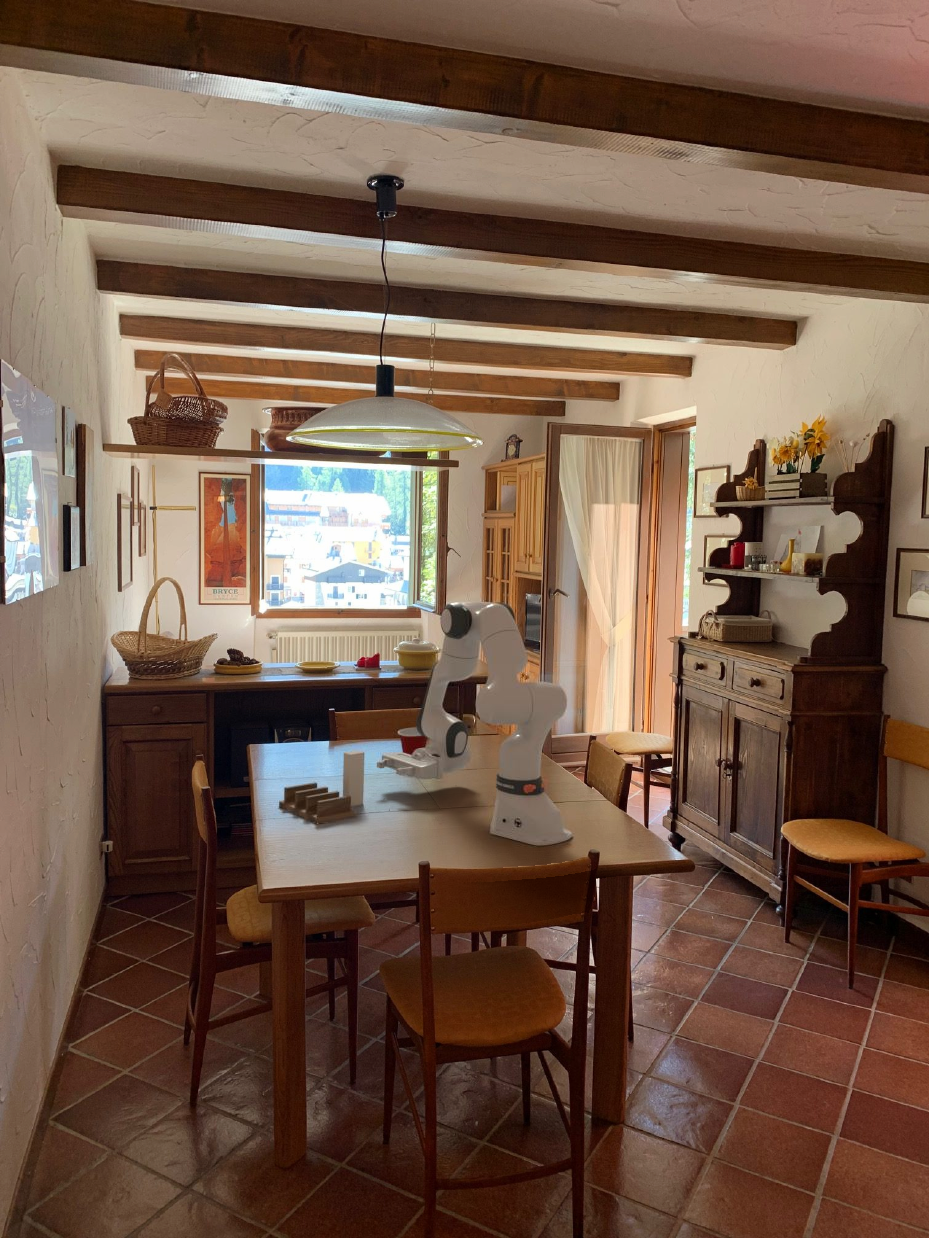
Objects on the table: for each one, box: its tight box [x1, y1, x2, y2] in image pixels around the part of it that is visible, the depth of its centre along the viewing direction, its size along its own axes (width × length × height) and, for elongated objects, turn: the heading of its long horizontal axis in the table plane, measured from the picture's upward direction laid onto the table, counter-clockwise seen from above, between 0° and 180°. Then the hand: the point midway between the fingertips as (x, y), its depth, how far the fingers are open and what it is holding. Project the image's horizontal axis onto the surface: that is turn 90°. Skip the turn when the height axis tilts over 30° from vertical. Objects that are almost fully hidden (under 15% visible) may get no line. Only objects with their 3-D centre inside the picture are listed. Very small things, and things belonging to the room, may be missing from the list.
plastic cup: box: [397, 727, 428, 755], centre depth 311 cm, size 11×11×12 cm
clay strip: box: [342, 749, 365, 807], centre depth 262 cm, size 3×5×15 cm, turn 131°
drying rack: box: [278, 781, 357, 824], centre depth 254 cm, size 20×12×6 cm, turn 42°
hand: (387, 768), depth 270 cm, fingers open, 8 cm apart
